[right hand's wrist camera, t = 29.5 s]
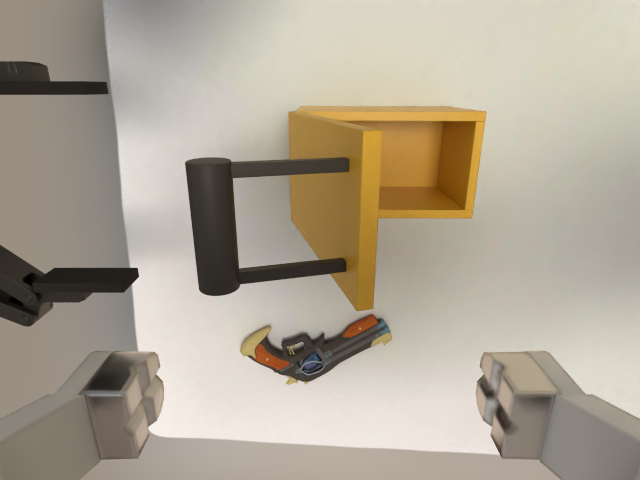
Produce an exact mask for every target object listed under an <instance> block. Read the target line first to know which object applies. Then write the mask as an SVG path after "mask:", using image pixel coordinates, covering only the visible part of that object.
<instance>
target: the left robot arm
mask: <svg viewBox="0 0 640 480" xmlns="http://www.w3.org/2000/svg"><path fill="white" fill-rule="evenodd" d="M89 94H108V88H107V83H106V82H82V81H81V82H79V81H77V82H73V81H72V82H50V78H49V73H48V68H47V66H45V65H43V64H40V63H34V62H0V95H89ZM138 277H139V274H138V268H54V269H52V270H51V271H49V272H48V273H46V274H44V273H43V272H41V271H40V270H38V269H37V268H35V267H33V266H32V265H30V264H29V263H27V262H26V261H24V260H23V259H21V258H20V257H18V256H16V255H15V254H13V253H12V252H10V251H9V250H7V249H6V248H4V247H2V246H1V245H0V317H2V318H5V319H7V320H10V321H13V322H15V323H18V324H20V325H23V326H31V325H33V324H34V323H35V322H36V321H38V320H39V319H40V318H41V317H42V316H44V315H45V314H46V313H47V312H48V311H50V310H51V309H52V308H53V303H52V302H81V301H83V300H85V299H86V298H87V297H88V296H90V295H91V294H92V293H93V292H125V291H126V290H127V288H128V287H129V286H130V285H131V284H132V283H133V282H134V281H135V280H136V279H137V278H138Z"/></svg>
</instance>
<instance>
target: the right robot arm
mask: <svg viewBox="0 0 640 480" xmlns="http://www.w3.org/2000/svg"><path fill="white" fill-rule="evenodd" d="M159 368H160V363H159V358H158V355H157V354H156V353H155V352H134V351H115V352H114V351H95V352H92V353H90V354H89V355H88V356H87V358H86V359H85V360H84V361H83V362H82V363H81V364H80V365H79V367H78V368H77V369H76V370H75V371H74V372H73V373H72V375H71V376H70V377H69V378H68V379H67V380H66V381H65V383H64V384H63V385H62V386H61V387H60V388H59V389H58V391H57V392H56V393H55V394H54V395H46V396H44V397H42V398H40V399H38V400H36V401H34V402H32V403H30V404H28V405H26V406H24V407H22V408H20V409H18V410H16V411H15V412H13V413H11V414H9V415H7V416H5V417H3V418H1V419H0V480H79V479H80V478H82V477H83V476H84V475H85V474H86V473H87V472H89V471H90V470H91V469H92V468H93V467H94V466H96V465H97V464H98V463H99V462H100V460H102V459H136V458H138V457H139V455H140V453H141V451H142V449H143V447H144V445H145V443H146V441H147V439H148V437H149V430H148V426H150V425H151V424H153V423H154V422H155V421H157V419H158V417H159V414H160V412H161V409H162V404H163V400H164V387H163V381H162V380H161V379H160V378H159V377H158V376H157V375H156V373H157V371H158V369H159ZM480 368H481V369H482V371H483V373H484V375H483V376H482V377H481V378H480V379H479V380H478V381H477V388H476V398H477V405H478V409H479V412H480V414H481V417H482V419H483V421H485V422H486V423H487V424H489V425H490V426H492V430H491V437H492V439H493V441H494V443H495V445H496V447H497V449H498V451H499V453H500V455H501V457H502V458H503V459H539V460H540V462H541V463H542V464H543V465H545V466H546V467H547V468H548V469H549V470H550V471H552V472H553V473H554V474H555V475H556V476H557V477H559V478H560V479H561V480H640V419H639V418H637V417H635V416H633V415H631V414H629V413H627V412H625V411H623V410H622V409H620V408H618V407H616V406H614V405H612V404H610V403H608V402H606V401H604V400H602V399H600V398H598V397H596V396H594V395H586V394H585V393H584V392H583V391H582V389H581V388H580V387H579V386H578V385H577V384H576V383H575V381H574V380H573V379H572V378H571V377H570V376H569V375H568V373H567V372H566V371H565V370H564V369H563V368H562V367H561V366H560V364H559V363H558V362H557V361H556V360H555V359H554V358H553V356H552V355H551V354H550V353H548V352H546V351H524V352H484V353H483V355H482V357H481V362H480Z"/></svg>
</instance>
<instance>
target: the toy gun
mask: <svg viewBox="0 0 640 480" xmlns="http://www.w3.org/2000/svg"><path fill="white" fill-rule="evenodd" d="M270 330H271V327H265V328H263V329H261V330H259V331H257V332H256V333H254V334H252V335H251V336H250V337H248V338H247V339H246V340H245V341H244V343H243V344H242V346H241V348H240V352H241V353H242V355H244V356H248V357H249V358H251V359H252V360H254V361H255V362H257V363H259V364H261V365H263V366H266V367H268V368H270V369H272V370H273V371H274V372H277V373H279V374H281V375H286V376H288V377H289V380H288V381H287V382H286V384H292V383H298V381H297V380H300V381H303V382H304V383H305V384H307V383H308V382H309V381H312V380H314V379H316V378H318V377H320V376H321V375H323V374H325V373H327V372H328V371H330V370H331V369H333V368H334V367H335V366H336V365H338V364H339V363H340V362H342V361H344V360H346V359H348V358H350V357H352V356H354V355H355V354H357V353H359V352H361V351H363V350H365V349H367V348H370V347H372V346H374V345H376V344H378V343H380V342H383V343H384V345H385V344H386V343H388V342H389V341H390V340H392V339H391V338H392V336H391V334H390V330H389V328H388V326H387V325H386V324H385V322H384V321H383V320H378V321H377V319H376V317H375V316H374V315H371V316H368V317H366V318H364V319H362V320H360V321H358V322H356V323H354V324H352V325H350V326H349V327H348V328H347V330H346V331H345V332H344V333H343V334H342V336H340V337H338V338H336V339H334V340H332V341H329V342H325V343H324V334H323V335H322V336H321V337H320V338H319V339H318V340H316V341H315V342H312V341H311V340H310V338H309V337H308V336H306V335H301V336H299V337H297V338H294V339H291V340H286V341H283V342H282V347H283V350H284V352H283V353H281V352H279V351H277V350H276V349H274V348H273V347H271V346H270V344H269V342H268V340H267V334H268V333H269V332H270ZM299 342H304V344H305V347H304V348H302V349H301V350H299V351H297V352H295V353H294V351H293V349H292V348H293V347H294V346H295V345H294V344H297V343H299ZM289 345H290V348H289V352H290V354H289V353H288V351H287V350H286V346H289ZM290 349H291V350H292V353H293V354H291V351H290ZM315 351H317V353H316V352H315ZM313 352H314V353H313ZM307 356H308V357H307ZM305 357H307V358H306V360H305V361H304V362H303V365H302V360H303V358H305ZM300 360H301V364H299V363H298V361H300ZM322 360H323V361H322ZM324 361H325V364H324V365H323V366H321V365H322V362H324ZM301 365H302V366H301ZM319 367H320V368H319ZM317 368H318V369H317ZM314 369H316V370H314ZM304 370H307V371H311V370H314V371H311V372H304Z"/></svg>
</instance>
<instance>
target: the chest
mask: <svg viewBox="0 0 640 480" xmlns="http://www.w3.org/2000/svg"><path fill="white" fill-rule="evenodd" d="M295 112H303V113H308V114H312V115H316V116H321V117H325V118H330V119H334V120H338V121H343V122H347V123H352V124H356V125H360V126H365V127H369V128H374V129H378V130H382V151H381V170H380V189H379V208H378V218H472V215H473V206H474V199H475V192H476V184H477V177H478V169H479V162H480V154H481V147H482V140H483V132H484V125H485V122H484V121H485V118H486V112H484V111H477V110H470V109H463V108H456V107H378V106H301V107H299V108H298V109H297V110H296V111H295Z"/></svg>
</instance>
